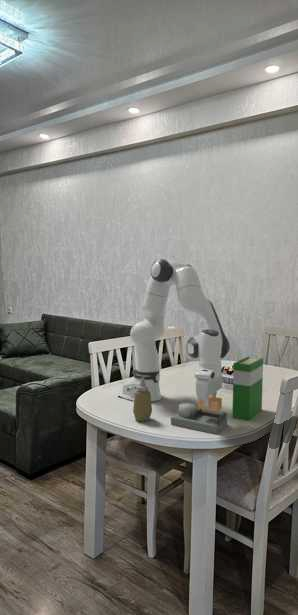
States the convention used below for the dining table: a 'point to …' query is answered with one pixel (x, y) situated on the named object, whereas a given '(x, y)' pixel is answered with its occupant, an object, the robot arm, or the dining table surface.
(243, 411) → the hardback book
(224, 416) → the panel with grey ball
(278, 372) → the dining table surface
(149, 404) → the squeeze bottle
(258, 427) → the dining table surface
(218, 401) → the chute
